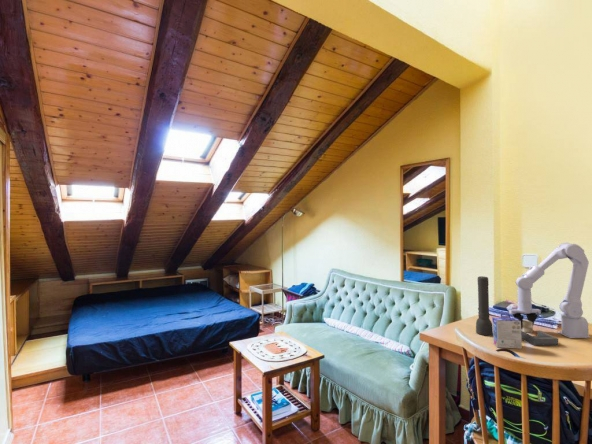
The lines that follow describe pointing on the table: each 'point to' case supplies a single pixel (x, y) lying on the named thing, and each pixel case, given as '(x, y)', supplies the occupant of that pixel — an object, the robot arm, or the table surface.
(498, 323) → the ink cartridge box
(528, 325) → the birch block
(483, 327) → the flashlight
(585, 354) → the table surface
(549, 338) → the cradle
